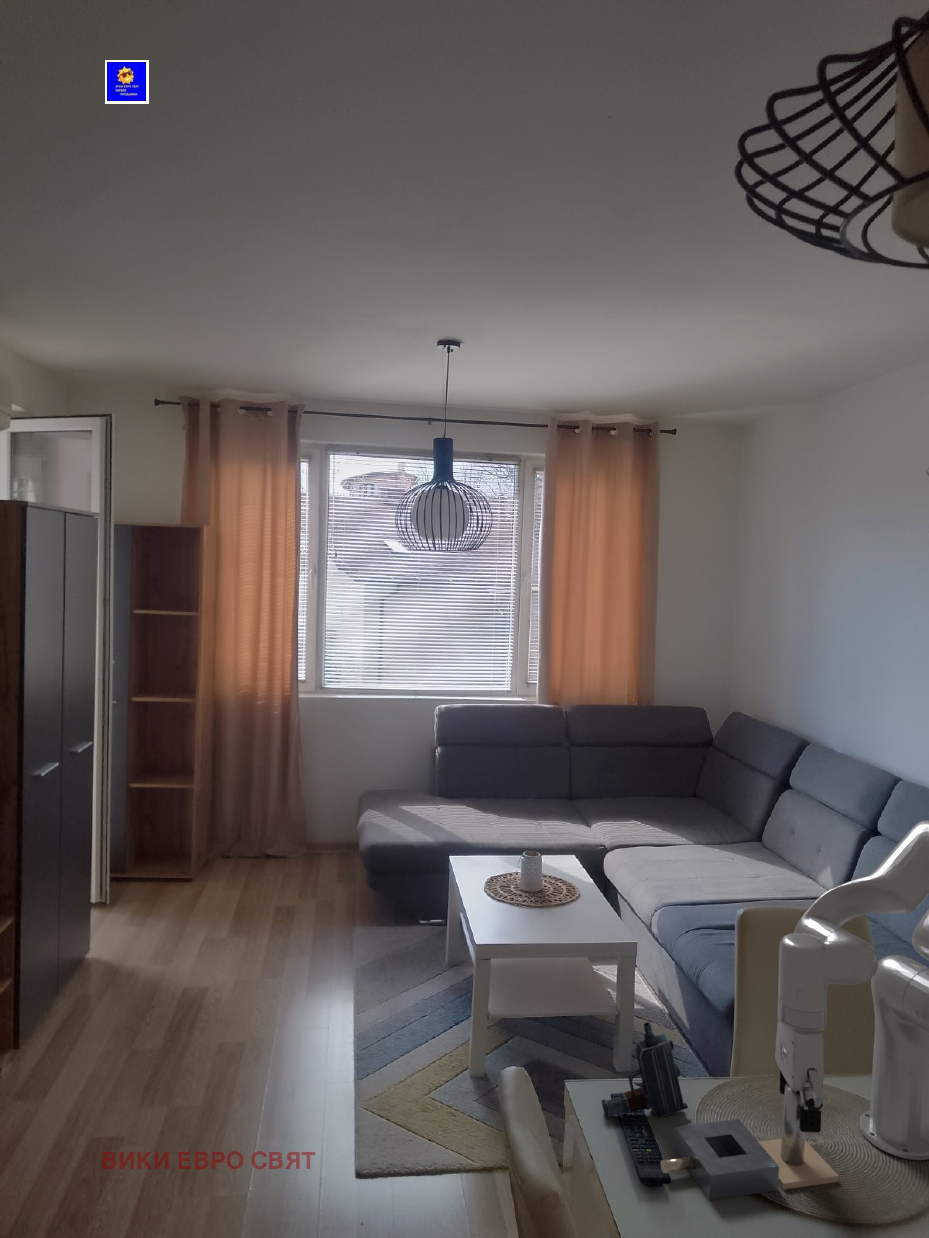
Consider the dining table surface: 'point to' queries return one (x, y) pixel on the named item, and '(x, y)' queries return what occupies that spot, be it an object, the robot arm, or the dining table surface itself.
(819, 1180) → the pad
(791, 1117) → the silver metal rod
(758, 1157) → the block
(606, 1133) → the dining table surface
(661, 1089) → the gun
